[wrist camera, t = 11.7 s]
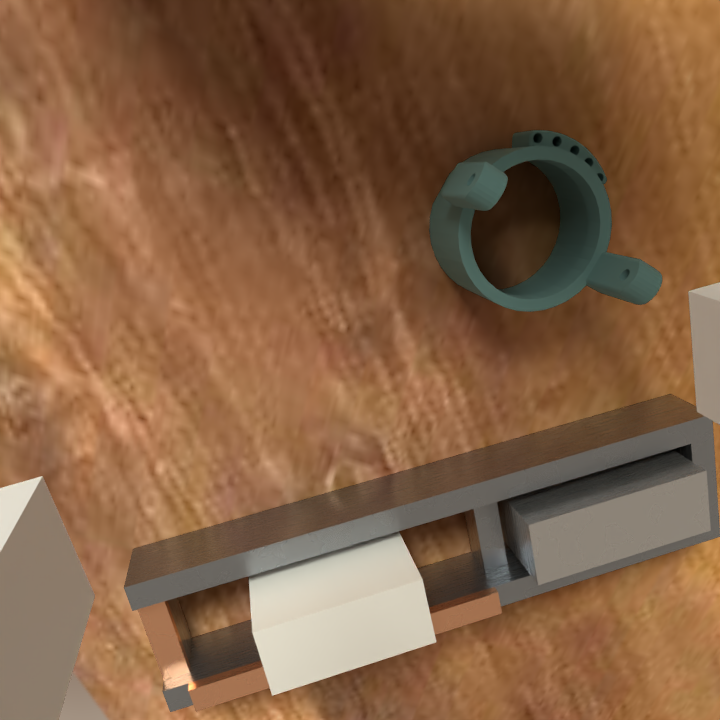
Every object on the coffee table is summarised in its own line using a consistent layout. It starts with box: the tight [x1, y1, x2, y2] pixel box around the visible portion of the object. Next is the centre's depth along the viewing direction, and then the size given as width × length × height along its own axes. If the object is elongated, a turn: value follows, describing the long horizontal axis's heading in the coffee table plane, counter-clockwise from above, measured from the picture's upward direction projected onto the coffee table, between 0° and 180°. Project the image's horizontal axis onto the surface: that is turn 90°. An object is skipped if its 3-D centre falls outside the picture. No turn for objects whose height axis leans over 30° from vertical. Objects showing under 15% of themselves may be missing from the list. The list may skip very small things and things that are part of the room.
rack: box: [124, 394, 720, 712], centre depth 41 cm, size 8×35×6 cm, turn 102°
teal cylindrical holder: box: [429, 130, 662, 312], centre depth 36 cm, size 9×9×9 cm
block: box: [249, 531, 436, 696], centre depth 40 cm, size 4×9×8 cm, turn 103°
